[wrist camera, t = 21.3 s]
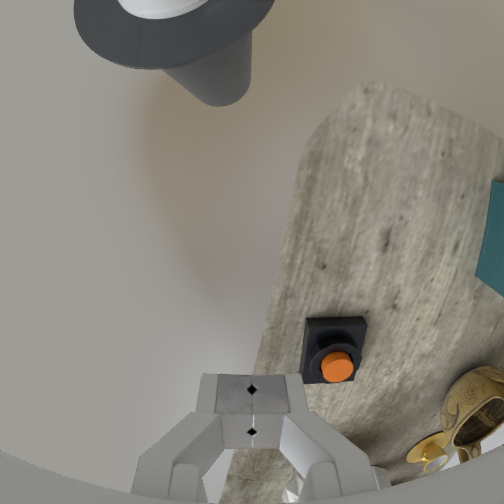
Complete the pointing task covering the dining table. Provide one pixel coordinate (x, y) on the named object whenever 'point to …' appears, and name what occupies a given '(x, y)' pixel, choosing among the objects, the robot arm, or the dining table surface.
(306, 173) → the dining table surface
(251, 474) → the dining table surface
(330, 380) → the flush button
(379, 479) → the cosmetic box
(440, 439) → the cup
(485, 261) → the teal hollow open box
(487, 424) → the ceramic bowl
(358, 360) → the push button housing
